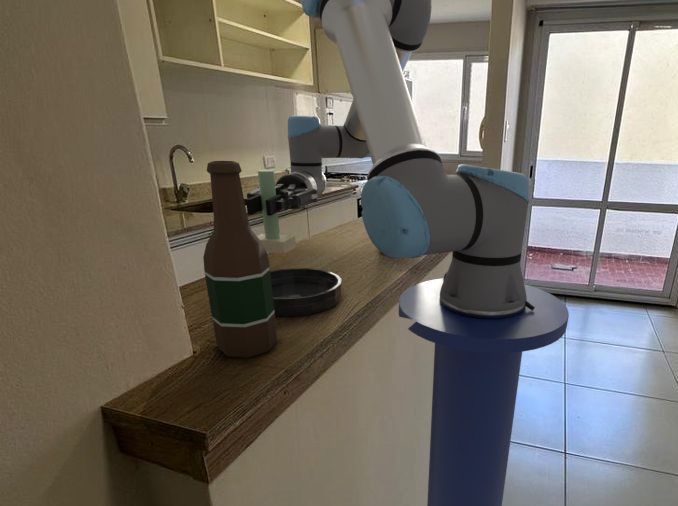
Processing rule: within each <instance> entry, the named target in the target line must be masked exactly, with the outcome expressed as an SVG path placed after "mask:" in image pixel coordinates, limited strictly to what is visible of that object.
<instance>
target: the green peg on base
mask: <svg viewBox="0 0 678 506" xmlns="http://www.w3.org/2000/svg"><path fill="white" fill-rule="evenodd" d="M257 176H258V184H259V186H258V187H260V195H261V204H262V211H261V212H262V220H263V231H264V233H260V234H258V235H256V236H257V237H258V238H259V239H260V241H261V242H262V244H263V246H264V248H265V250H266V252H267V254H276V255H277V254H278V255H279V254H280V255H286V254H287V253H289V252H291V251H293V250H295V249H296V247H297V244H296V235H288V234H287V235H286V234H281V232H280V221H279V212H277V213H275V214H273V215H271V216H267V211H266V201H265V200H267V199H269V198H272V197H274V196H276V189H275V185H276V179H275V171H274V170H273V169H258V170H257Z"/></svg>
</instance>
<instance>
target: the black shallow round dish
mask: <svg viewBox="0 0 678 506" xmlns="http://www.w3.org/2000/svg"><path fill="white" fill-rule="evenodd" d="M270 274H271V283H272V293H273V302H274V311H275V317H285V318H286V317H300V316H307V315H308V316H309V315H314V314H317V313H321V312H323V311H326V310H328V309H331V308H332V307H334V306H336V305H337V304H338V302H339V301H340V300H341V299H342V296H343V281H342V278H341V277H340V276H339V275H338V274H336V273H334V272H332V271H328V270H326V269H325V270H324V269H321V268H320V269H319V268H310V267H291V268H290V267H289V268H280V269H274V270H270Z"/></svg>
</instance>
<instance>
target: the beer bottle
mask: <svg viewBox="0 0 678 506" xmlns="http://www.w3.org/2000/svg"><path fill="white" fill-rule="evenodd" d="M242 171H243V170H242V168H241V165H240V163H239V162H237V161H234V160H212V161H209V162H207V165H206V172H207V173H208V174H209V176H210V187H211V188H210V189H211V199H212V200H211V201H212V211H213V230H212V233H211V235H210V236H209V238H208V240H207V242H206V244H205V247H204V252H203V270H204V277H205V283H206V289H207V290H206V291H207V295H208V301H209V307H210V314H211V321H212V325H213V332H214V336H215V340H216V346H217V348H218V349H219V350H220V351H221V353H223V354H224V355H225V356H227V357H228V358H253V357H255V356H258V355H261V354H262V355H263V354H265V353H267V352H270V350H271V349H272V348H273V346H274V345H275V343H276V342H277V340H278V337H277V322H276V316H275V311H274V302H273V293H272V283H271V274H270V271H271V267H270V261H269V256H268V253H267V252H266V250H265V248H264V246H263V244H262V242H261V241H260V239H259V238H258V237H257V236H258V235H256V233H255V232H254V231H253V230H252V228H251V223H250V221H249V218H248V213H247V206H246V201H245V198H244V191H243V187H242V181H241V176H240V174H241V172H242Z"/></svg>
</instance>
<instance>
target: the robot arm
mask: <svg viewBox="0 0 678 506" xmlns="http://www.w3.org/2000/svg"><path fill="white" fill-rule="evenodd" d="M300 3H301V8H302V11H303V13H304V14H305V15H306V16H308V17H311V18H312V19H320V23H321V26H322V29H323V32H324V34H325V36H326V37H327V38H328V39H329V40H330V41H331V42H332V43H334V44H336V45H337V47H338V51H339V54H340V57H341V62H342V64H343V67H344V71H345V74H346V78H347V82H348V84H349V88H350V92H351V95H352V98H353V99H352V102H351V104H350V107H349V110H348V114H347V116H346V118H345V121H344V123H343V125H334V124H322V123H321V119H320V118H319V116H315V115H290V116H289V117H288V119H287V140H288V151H289V152H288V153H289V161H290V173H287V174H284V175H282V176H281V177H279V178H278V180H277V181H276V182H275V189H276V196H274V197H272V198H269V199H267V200H265V201H266V211H267V216H271V215H273V214H275V213H277V212H278V213H279V212H281V211H282V210H299V209H301V208H303V207H305V206H308V205H311V204H312V203H318V198H320V197H321V196H322V195H323V194H324V192H325V191H326V188H327V178H326V176H325V174H324V172H323V159H364V158H370V159H371V163H372V167H370V169H369V171H368V173H367V175H366V176H367V177H366V182H365V183H364V186H363V187H362V190H361V194H360V206H361V208H362V211H361V212H360V213H361V218H362V222H363V226H364V229H365V231H366V234H367V236H368V238H369V240H370V241H371V243H372V245H374V247H375V248H376V249H377V250H378V251H379V252H380V253H381V252H382V253H381V254H383V253H384V254H383V255H385V256H386V257H389V258H393V259H401V258H402V259H403V258H409V259H415V258H421V257H422V256H429V255H436V254H437V255H438V254H445V253H451V254H452V255H451V261H450V264H449V266H448V269H447V271H446V272H445V273H444V275H443V277H442V278H443V280H444V281H443V280H442V281H443V284H442V286H441V290H440V299H439V301H440V304H441V305H442V306H443V307H444V308H445V309H446V310H448V311H450V312H452V313H455V314H458V315H461V316H465V317H469V318H476V319H488V320H494V319H506V318H511V317H514V316H517V315H519V314H521V313H522V312H524V310H525V308H526V307H528V308H529V309H530V310H532V311H533V310H534V308H535V307H534V306H533V305H531V304H530V303H529V302H527V299H526V298H527V297H526V290H525V285H524V284H525V281H524V277H523V272H522V267H521V260H522V254H523V253H522V251H523V245H524V236H525V230H526V224H527V223H526V222H527V214H528V208H529V203H530V199H529V192H530V182H529V178H528V176H526V174H524V173H523V172H516V171H509V170H503V169H498V168H489V167H485V166H484V167H483V166H477V165H471V164H464V163H463V164H462V163H461V164H458V166H457V169H456V171H455V174H447V172H446V170H445V167H444V164H443V161H442V158H441V156H440V154H439V152H437V151H435V150H434V149H431V148H428V147H427V145H426V142H425V138H424V134H423V132H422V128H421V126H420V123H419V119H418V117H417V113H416V110H415V107H414V104H413V101H412V97H411V95H410V91H409V88H408V85H407V82H406V79H405V75H404V71H405V68H406V66H407V64H408V62H409V60H410V57H411V55H412V53H415V52H416V51H418V50H419V49H420V48H421V46H422V44H423V42H424V40H425V39H426V35H427V33H428V31H429V26H430V23H431V15H432V7H433V6H432V0H300ZM245 206H246V212H247V216H253V215H255V214H257V213H260V212H262V204H261V195H260V186H256V187H255V188H254V189H253V190H250V191H249V192H247V193H246V199H245Z"/></svg>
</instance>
